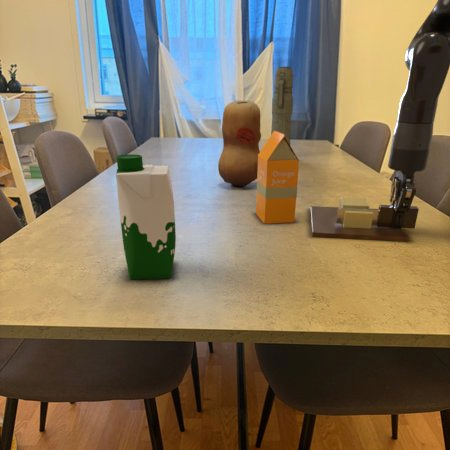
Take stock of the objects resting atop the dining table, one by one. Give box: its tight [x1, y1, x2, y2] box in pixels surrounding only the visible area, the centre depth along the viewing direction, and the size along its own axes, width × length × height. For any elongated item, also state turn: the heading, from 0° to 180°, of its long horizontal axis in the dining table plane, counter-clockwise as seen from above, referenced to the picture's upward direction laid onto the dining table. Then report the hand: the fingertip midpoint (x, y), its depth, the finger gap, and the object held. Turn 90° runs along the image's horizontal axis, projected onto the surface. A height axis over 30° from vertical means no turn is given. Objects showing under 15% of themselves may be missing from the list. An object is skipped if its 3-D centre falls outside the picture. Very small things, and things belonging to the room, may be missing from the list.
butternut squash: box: [217, 100, 262, 187], centre depth 134 cm, size 14×13×25 cm
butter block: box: [338, 196, 370, 210], centre depth 106 cm, size 6×8×4 cm
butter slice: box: [343, 211, 373, 229], centre depth 97 cm, size 6×2×4 cm, turn 81°
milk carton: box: [115, 153, 177, 280], centre depth 73 cm, size 9×9×20 cm
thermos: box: [271, 66, 294, 145], centre depth 184 cm, size 9×12×35 cm
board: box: [310, 205, 409, 243], centre depth 103 cm, size 20×22×1 cm
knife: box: [336, 204, 420, 230], centre depth 97 cm, size 17×2×4 cm, turn 81°
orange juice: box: [255, 131, 300, 225], centre depth 103 cm, size 8×9×20 cm
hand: (395, 225), depth 97 cm, fingers closed on knife, 2 cm apart
